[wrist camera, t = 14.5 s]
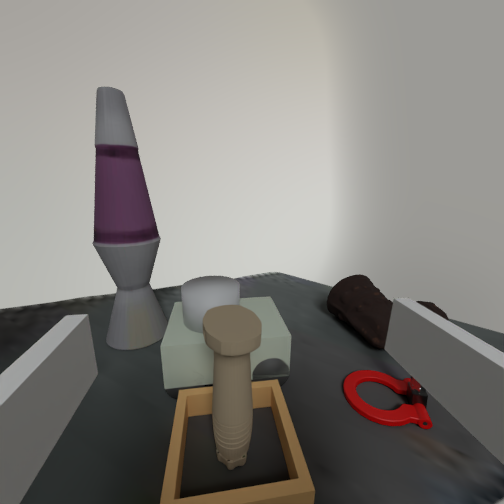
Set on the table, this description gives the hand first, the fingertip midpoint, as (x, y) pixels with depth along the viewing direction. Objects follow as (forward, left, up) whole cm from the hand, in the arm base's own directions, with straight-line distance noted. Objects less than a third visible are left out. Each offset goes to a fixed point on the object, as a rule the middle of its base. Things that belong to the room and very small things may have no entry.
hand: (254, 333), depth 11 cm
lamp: (-27, +27, -20) cm, 43 cm away
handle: (-4, +9, -20) cm, 23 cm away
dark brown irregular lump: (+18, +37, -21) cm, 46 cm away
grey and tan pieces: (-6, +16, -20) cm, 26 cm away
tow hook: (+13, +20, -20) cm, 31 cm away
